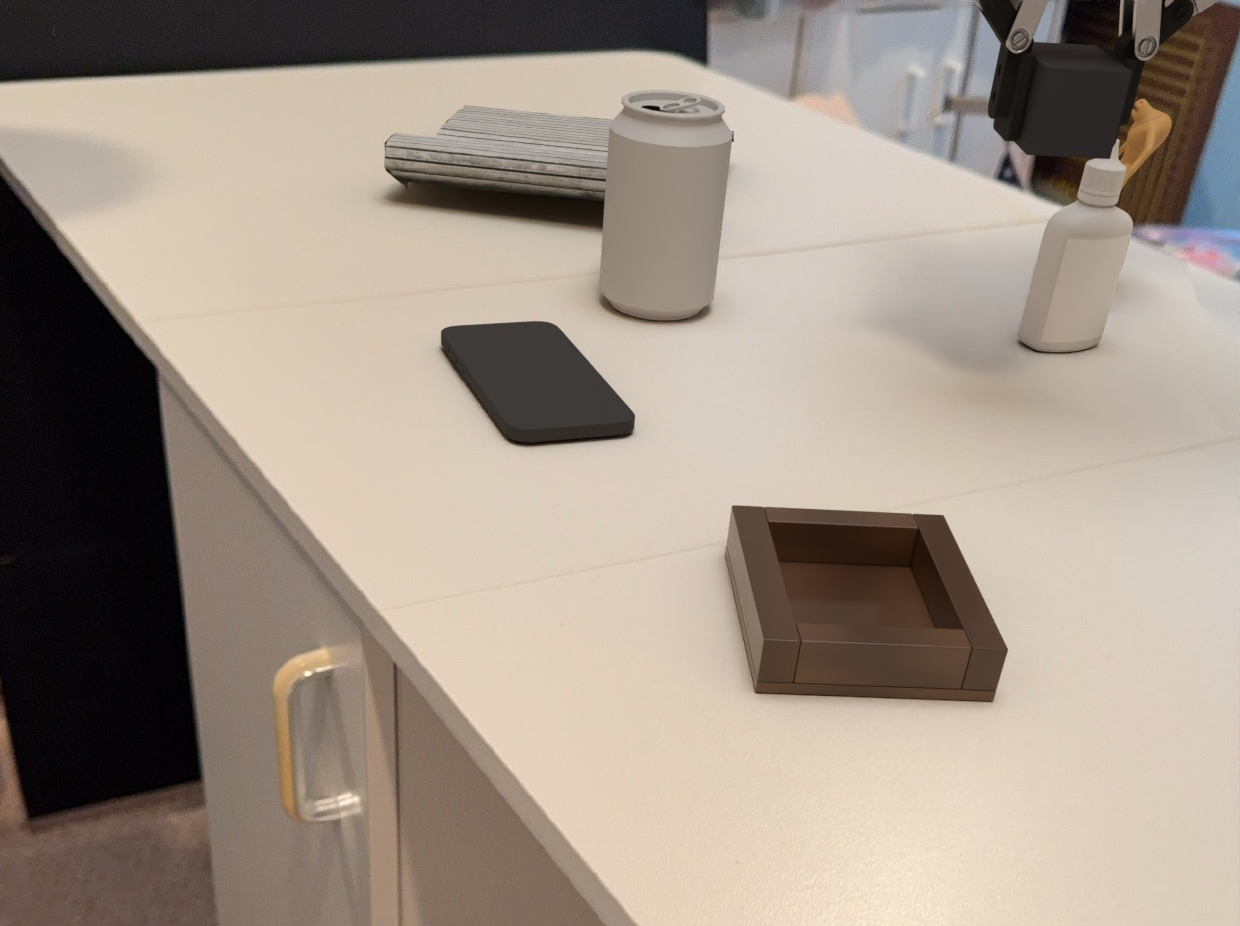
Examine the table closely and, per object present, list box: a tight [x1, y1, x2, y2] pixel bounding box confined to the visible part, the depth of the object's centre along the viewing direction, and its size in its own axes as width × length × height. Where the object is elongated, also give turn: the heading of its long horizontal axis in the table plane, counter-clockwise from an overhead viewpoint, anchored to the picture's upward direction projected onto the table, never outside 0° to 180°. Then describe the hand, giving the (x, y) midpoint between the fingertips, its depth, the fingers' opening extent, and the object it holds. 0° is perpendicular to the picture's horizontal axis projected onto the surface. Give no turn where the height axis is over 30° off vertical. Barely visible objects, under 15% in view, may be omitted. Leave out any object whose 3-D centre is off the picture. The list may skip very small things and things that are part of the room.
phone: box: [440, 320, 636, 443], centre depth 82 cm, size 7×1×15 cm
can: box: [598, 89, 733, 321], centre depth 90 cm, size 8×8×12 cm
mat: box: [383, 104, 735, 203], centre depth 112 cm, size 23×24×5 cm
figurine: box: [1118, 98, 1173, 191], centre depth 99 cm, size 8×6×12 cm
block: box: [1014, 41, 1132, 159], centre depth 75 cm, size 6×4×4 cm
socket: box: [724, 504, 1009, 702], centre depth 63 cm, size 10×12×2 cm
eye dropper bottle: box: [1017, 138, 1134, 353], centre depth 89 cm, size 4×6×12 cm
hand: (1053, 133), depth 76 cm, fingers closed on block, 4 cm apart
